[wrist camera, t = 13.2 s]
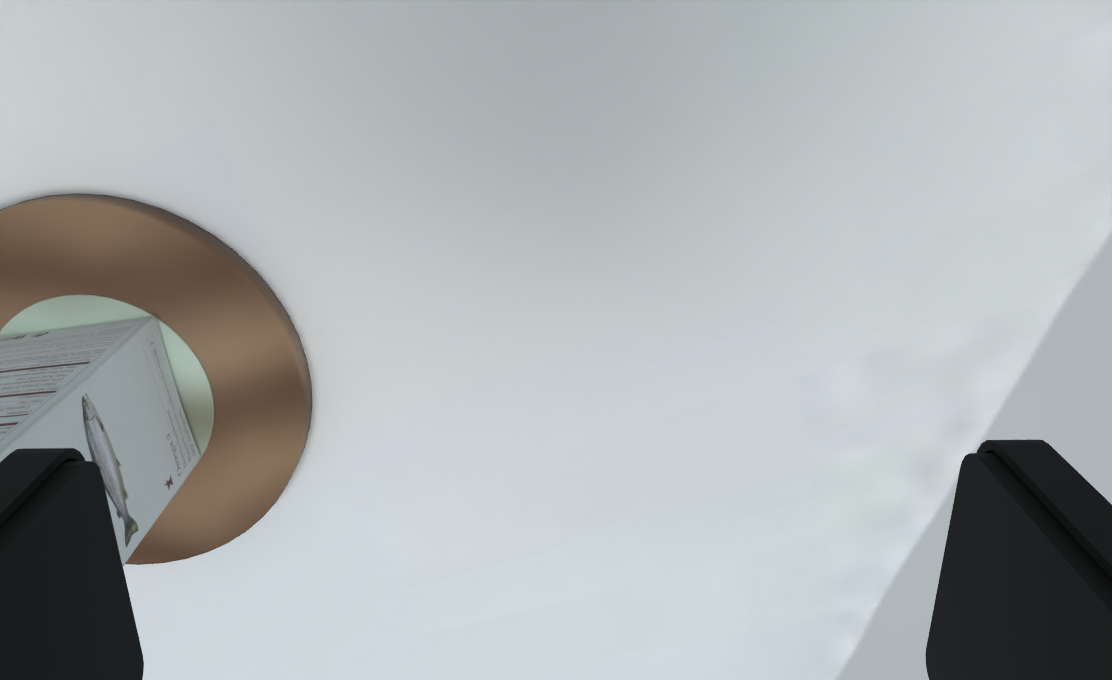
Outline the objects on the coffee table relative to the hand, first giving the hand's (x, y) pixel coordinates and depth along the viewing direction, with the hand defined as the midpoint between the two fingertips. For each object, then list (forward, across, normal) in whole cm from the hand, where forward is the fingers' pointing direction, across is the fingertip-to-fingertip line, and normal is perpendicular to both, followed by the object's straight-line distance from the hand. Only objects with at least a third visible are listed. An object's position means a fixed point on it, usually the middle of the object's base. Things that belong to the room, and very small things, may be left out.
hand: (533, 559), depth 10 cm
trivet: (+30, +20, +12) cm, 38 cm away
